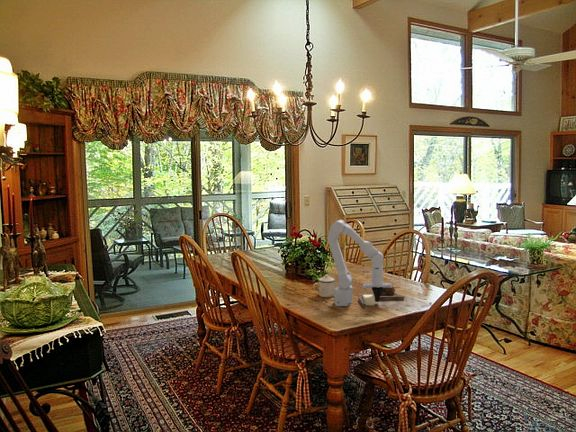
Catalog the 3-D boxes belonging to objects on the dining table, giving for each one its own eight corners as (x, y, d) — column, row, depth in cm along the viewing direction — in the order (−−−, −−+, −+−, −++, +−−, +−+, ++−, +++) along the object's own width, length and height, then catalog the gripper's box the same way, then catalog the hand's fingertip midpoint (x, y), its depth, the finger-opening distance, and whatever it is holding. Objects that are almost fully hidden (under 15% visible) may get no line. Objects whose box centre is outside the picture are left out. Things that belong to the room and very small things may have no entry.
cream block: (364, 305, 245) (364, 297, 244) (362, 302, 250) (362, 294, 249) (374, 304, 245) (374, 297, 244) (372, 302, 250) (372, 294, 249)
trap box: (363, 310, 240) (363, 303, 240) (358, 303, 253) (358, 296, 253) (410, 309, 241) (411, 302, 241) (403, 302, 254) (403, 295, 254)
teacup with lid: (332, 292, 275) (332, 272, 273) (336, 297, 266) (336, 276, 264) (312, 293, 273) (312, 273, 272) (314, 298, 264) (314, 277, 263)
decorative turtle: (384, 302, 255) (383, 287, 255) (372, 296, 270) (371, 282, 269) (401, 299, 258) (400, 284, 257) (387, 294, 272) (386, 280, 272)
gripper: (364, 277, 242) (364, 304, 243) (393, 277, 242) (393, 303, 244) (362, 274, 249) (361, 300, 250) (389, 273, 249) (389, 299, 251)
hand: (377, 301), depth 247 cm, fingers closed
